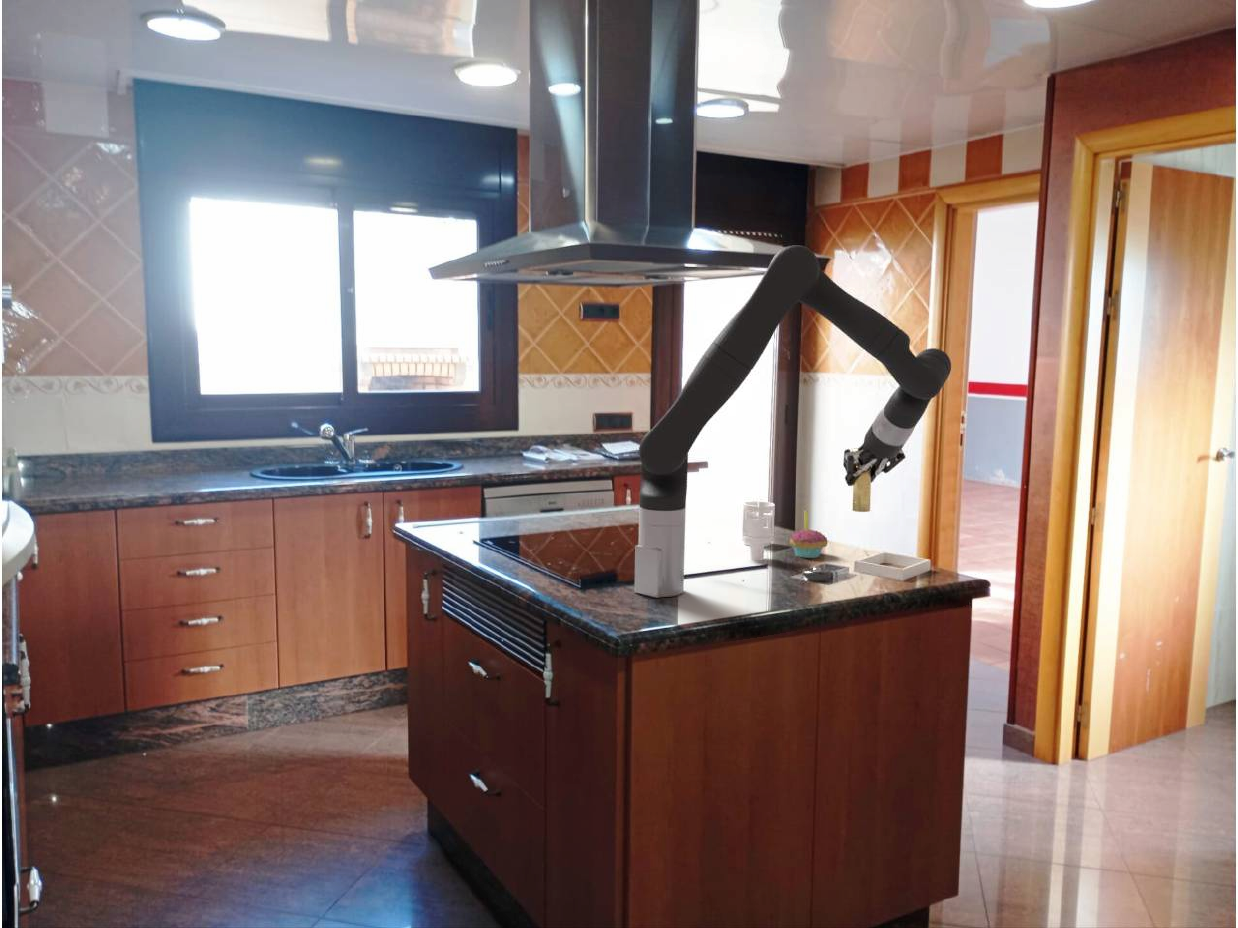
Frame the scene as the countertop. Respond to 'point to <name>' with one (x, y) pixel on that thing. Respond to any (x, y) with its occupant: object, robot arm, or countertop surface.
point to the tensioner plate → (835, 573)
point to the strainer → (757, 526)
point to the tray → (912, 567)
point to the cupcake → (808, 541)
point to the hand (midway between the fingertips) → (857, 482)
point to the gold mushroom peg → (862, 490)
